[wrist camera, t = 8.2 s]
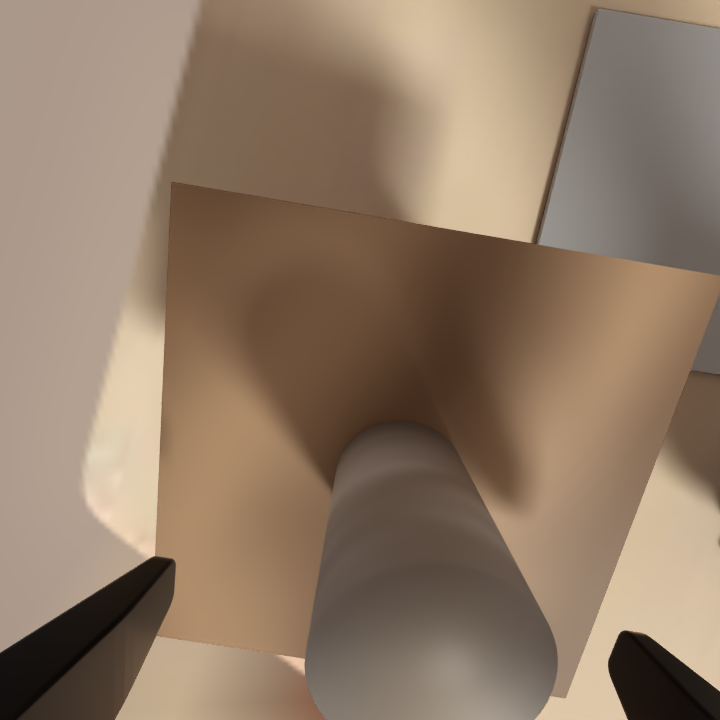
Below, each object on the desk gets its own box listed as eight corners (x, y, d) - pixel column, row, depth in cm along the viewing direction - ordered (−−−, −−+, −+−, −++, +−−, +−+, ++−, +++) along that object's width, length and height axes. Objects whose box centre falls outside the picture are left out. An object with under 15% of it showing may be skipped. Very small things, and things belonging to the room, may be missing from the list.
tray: (919, 68, 15) (931, 64, 15) (781, 384, 18) (789, 385, 18) (594, 13, 15) (599, 8, 14) (511, 340, 18) (513, 342, 17)
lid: (692, 277, 8) (1196, 268, 3) (551, 668, 11) (710, 1003, 6) (190, 191, 8) (-102, 41, 3) (167, 609, 11) (-12, 901, 6)
